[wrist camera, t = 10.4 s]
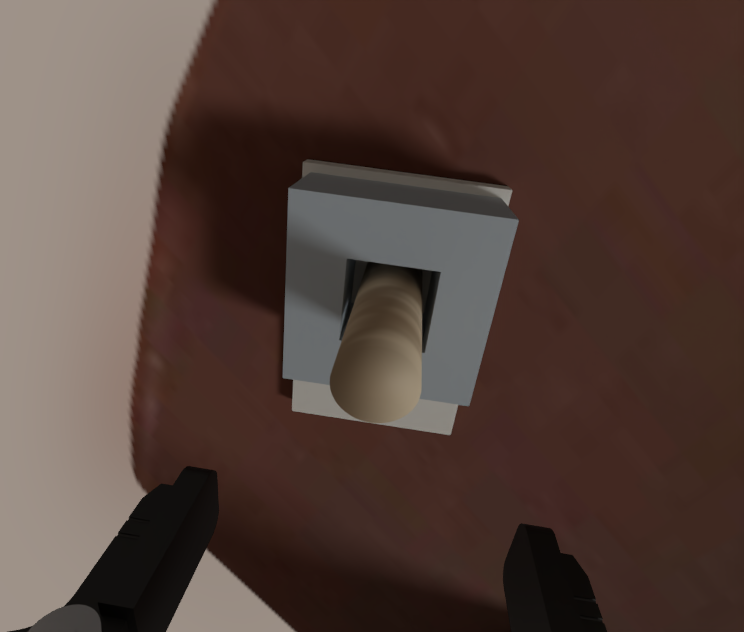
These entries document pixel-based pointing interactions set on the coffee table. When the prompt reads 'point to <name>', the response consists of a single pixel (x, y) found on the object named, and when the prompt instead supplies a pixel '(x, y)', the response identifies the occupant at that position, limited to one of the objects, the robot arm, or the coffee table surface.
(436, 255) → the socket
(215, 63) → the coffee table surface
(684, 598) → the coffee table surface
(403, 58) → the coffee table surface
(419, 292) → the peg
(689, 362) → the coffee table surface
